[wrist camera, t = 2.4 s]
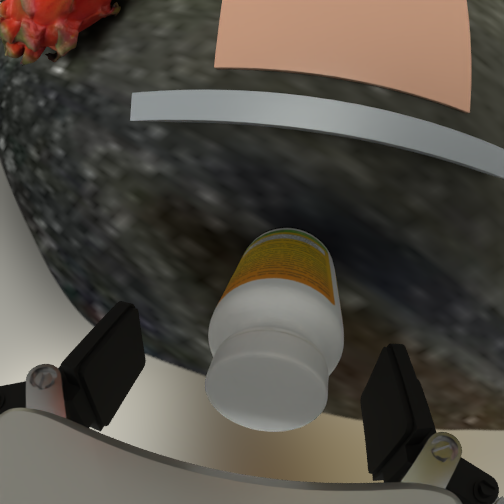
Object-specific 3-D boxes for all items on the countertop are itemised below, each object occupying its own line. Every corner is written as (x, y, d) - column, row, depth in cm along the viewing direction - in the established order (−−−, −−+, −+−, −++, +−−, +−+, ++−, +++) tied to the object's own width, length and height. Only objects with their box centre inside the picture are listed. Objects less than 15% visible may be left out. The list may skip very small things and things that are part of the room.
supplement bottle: (226, 246, 18) (151, 355, 9) (312, 210, 16) (317, 308, 7) (265, 319, 19) (231, 448, 10) (346, 292, 17) (366, 426, 9)
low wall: (488, 154, 13) (539, 166, 8) (485, 173, 13) (535, 190, 9) (179, 101, 15) (132, 93, 10) (178, 122, 15) (130, 120, 11)
